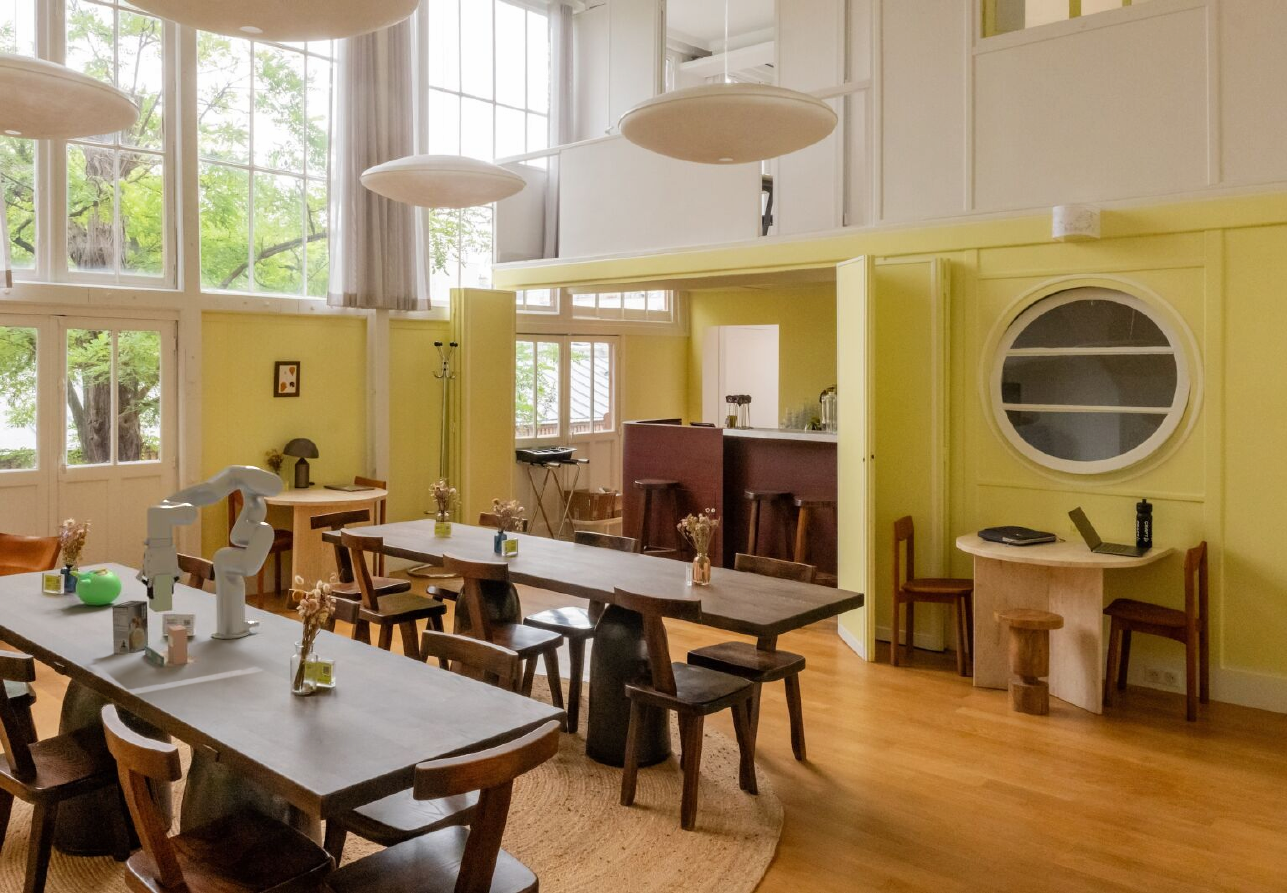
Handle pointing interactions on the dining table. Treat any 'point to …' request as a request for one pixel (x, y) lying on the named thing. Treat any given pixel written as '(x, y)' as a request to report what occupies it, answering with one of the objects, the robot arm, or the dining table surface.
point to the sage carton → (161, 593)
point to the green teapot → (97, 586)
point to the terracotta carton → (177, 645)
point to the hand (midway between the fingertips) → (160, 597)
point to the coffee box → (130, 627)
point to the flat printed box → (163, 657)
